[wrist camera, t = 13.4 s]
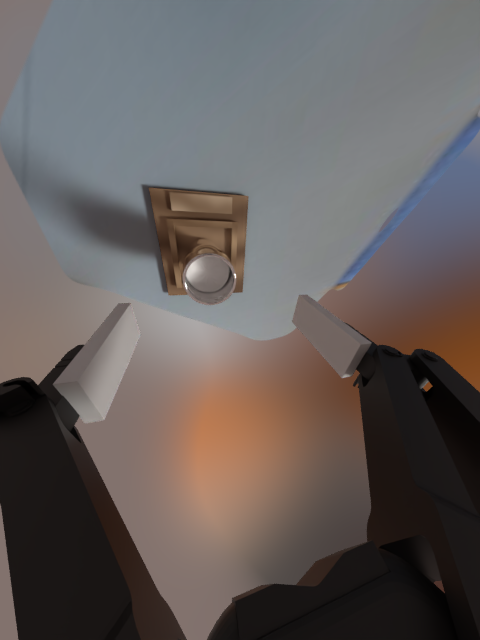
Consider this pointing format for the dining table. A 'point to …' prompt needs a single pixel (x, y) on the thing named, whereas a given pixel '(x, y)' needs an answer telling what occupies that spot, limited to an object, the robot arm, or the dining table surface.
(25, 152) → the dining table surface
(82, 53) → the dining table surface
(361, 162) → the dining table surface
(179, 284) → the tray
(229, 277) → the beer glass
